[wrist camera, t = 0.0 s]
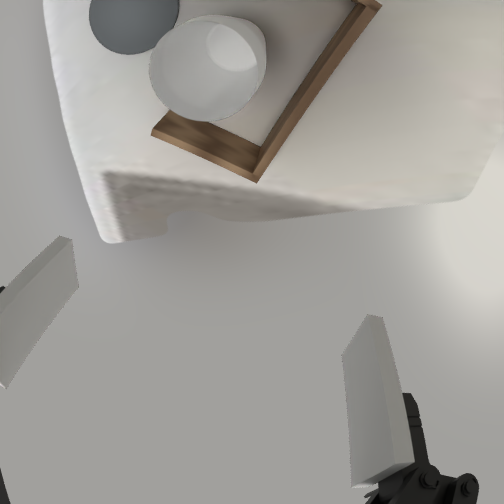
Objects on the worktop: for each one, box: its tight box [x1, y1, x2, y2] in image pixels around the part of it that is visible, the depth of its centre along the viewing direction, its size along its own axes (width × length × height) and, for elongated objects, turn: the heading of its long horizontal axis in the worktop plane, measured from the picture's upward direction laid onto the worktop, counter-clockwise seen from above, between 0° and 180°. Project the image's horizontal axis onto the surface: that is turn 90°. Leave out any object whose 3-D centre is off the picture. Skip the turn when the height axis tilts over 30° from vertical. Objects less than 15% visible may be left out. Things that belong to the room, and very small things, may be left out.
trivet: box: [89, 0, 179, 55], centre depth 24 cm, size 12×12×1 cm
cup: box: [149, 15, 266, 122], centre depth 23 cm, size 9×9×12 cm
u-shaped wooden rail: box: [151, 0, 382, 183], centre depth 26 cm, size 14×24×6 cm, turn 154°
